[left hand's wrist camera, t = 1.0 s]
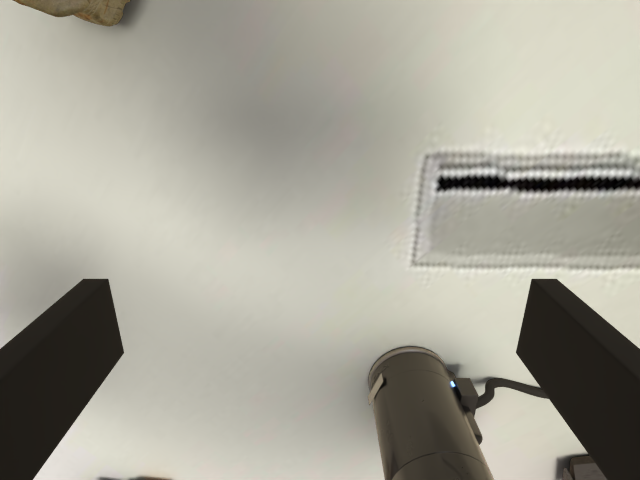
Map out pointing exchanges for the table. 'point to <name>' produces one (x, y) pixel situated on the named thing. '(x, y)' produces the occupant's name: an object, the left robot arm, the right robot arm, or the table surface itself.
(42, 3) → the sculpture
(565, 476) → the toy
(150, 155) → the table surface
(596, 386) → the left robot arm
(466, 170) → the table surface
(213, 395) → the table surface
